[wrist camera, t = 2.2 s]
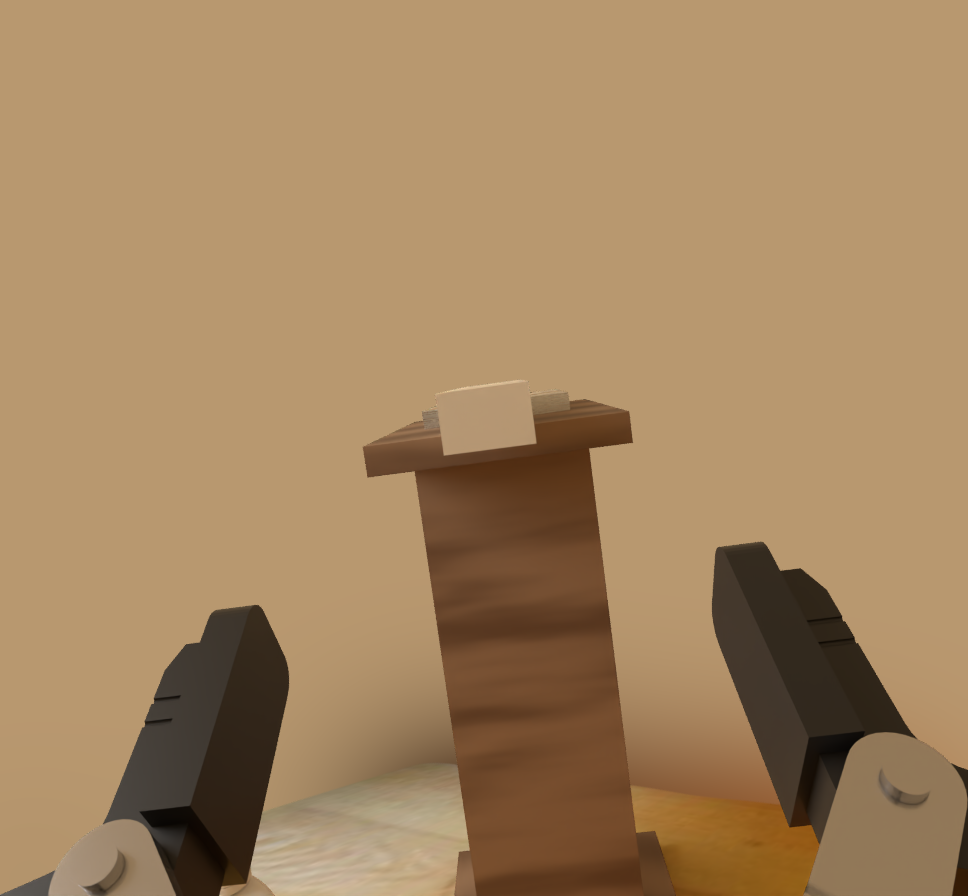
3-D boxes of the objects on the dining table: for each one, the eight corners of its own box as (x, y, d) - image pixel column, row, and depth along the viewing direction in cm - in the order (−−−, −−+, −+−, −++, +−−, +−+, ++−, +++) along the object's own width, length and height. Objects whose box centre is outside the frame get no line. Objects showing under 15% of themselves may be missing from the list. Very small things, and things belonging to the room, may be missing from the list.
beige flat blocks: (614, 433, 23) (607, 370, 22) (367, 465, 23) (358, 404, 23) (557, 403, 48) (553, 374, 48) (441, 419, 49) (437, 390, 49)
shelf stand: (726, 1063, 34) (651, 408, 31) (440, 1089, 35) (341, 449, 32) (651, 829, 52) (599, 397, 49) (462, 849, 53) (400, 423, 50)
